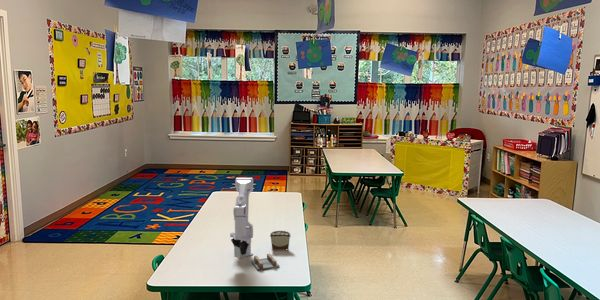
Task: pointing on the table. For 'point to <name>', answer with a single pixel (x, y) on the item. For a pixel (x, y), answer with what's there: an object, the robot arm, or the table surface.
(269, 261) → the slot seat
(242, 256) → the steel block
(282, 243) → the food container
